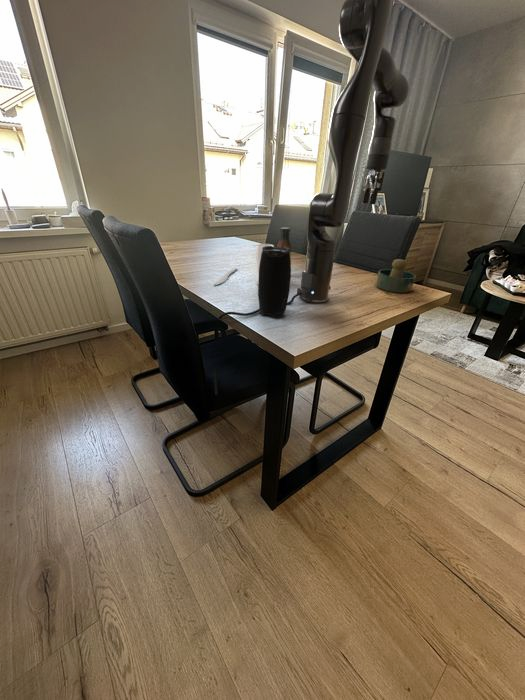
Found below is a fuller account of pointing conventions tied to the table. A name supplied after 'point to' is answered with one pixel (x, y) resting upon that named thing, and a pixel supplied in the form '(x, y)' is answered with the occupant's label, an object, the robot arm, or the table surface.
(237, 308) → the table surface
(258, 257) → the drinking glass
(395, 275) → the cork
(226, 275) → the butter knife
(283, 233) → the sauce bottle
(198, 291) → the table surface
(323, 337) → the table surface
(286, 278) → the portable speaker
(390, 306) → the table surface
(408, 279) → the teal shallow bowl
